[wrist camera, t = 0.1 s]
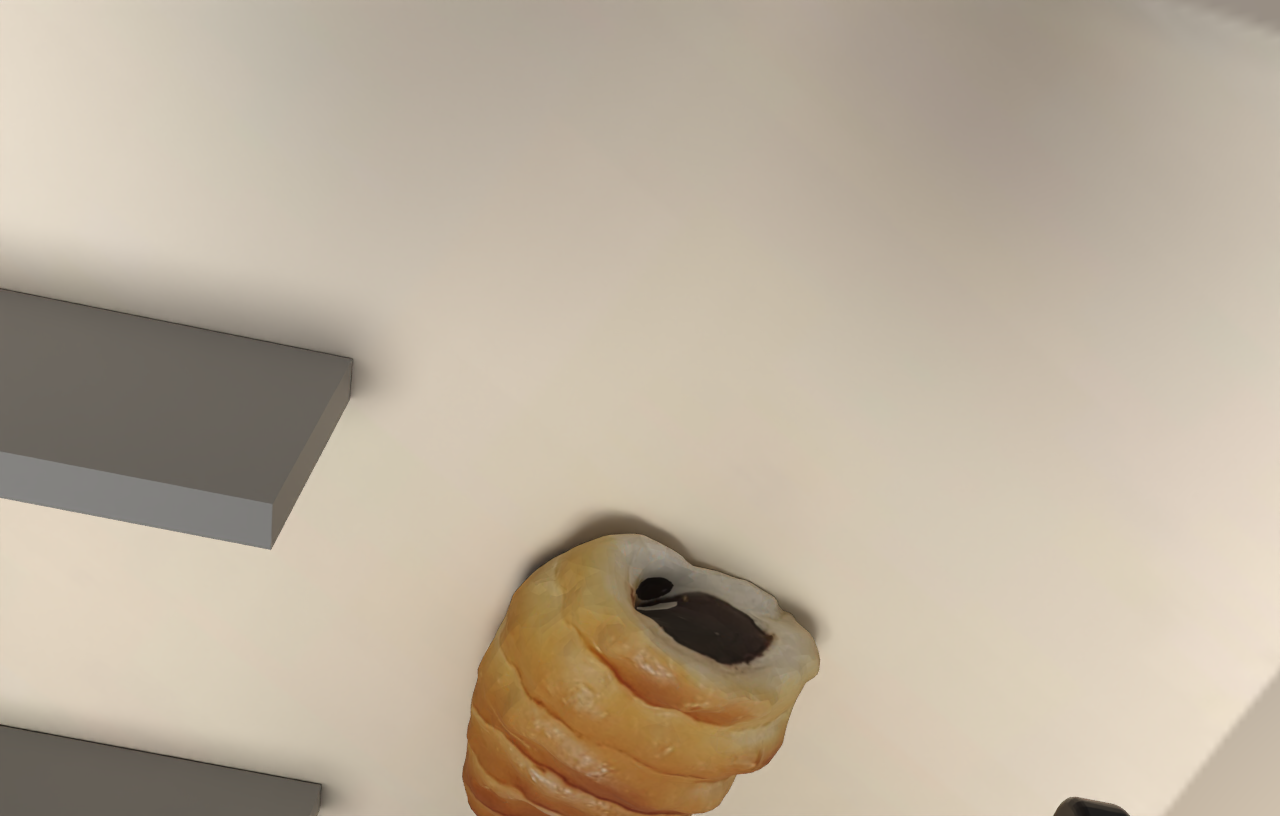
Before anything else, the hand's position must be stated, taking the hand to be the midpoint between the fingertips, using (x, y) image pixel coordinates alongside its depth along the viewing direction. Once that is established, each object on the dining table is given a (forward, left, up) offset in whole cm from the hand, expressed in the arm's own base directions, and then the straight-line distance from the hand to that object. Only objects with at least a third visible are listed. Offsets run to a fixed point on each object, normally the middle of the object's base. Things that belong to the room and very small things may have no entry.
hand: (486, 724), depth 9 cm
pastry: (-13, -3, -15) cm, 20 cm away
